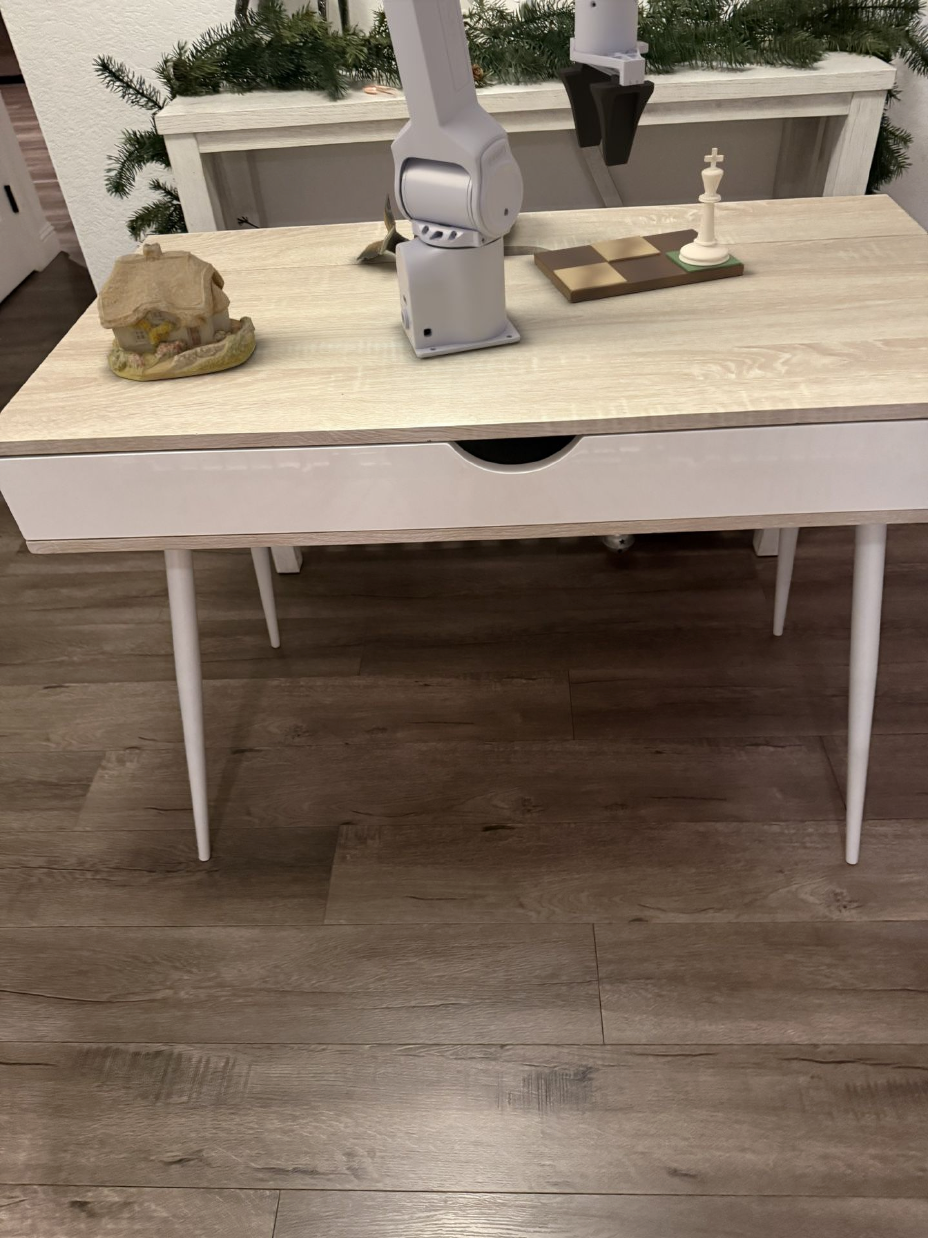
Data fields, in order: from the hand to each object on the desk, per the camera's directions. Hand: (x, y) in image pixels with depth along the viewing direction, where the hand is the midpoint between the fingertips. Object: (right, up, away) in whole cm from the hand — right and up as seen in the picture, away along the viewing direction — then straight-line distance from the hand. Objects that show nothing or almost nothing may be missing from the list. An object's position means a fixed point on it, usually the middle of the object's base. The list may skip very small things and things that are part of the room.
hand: (602, 154), depth 91 cm
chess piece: (+10, -10, +1) cm, 14 cm away
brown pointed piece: (-21, -8, +9) cm, 24 cm away
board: (+4, -10, +3) cm, 11 cm away
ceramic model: (-40, -22, -6) cm, 46 cm away
